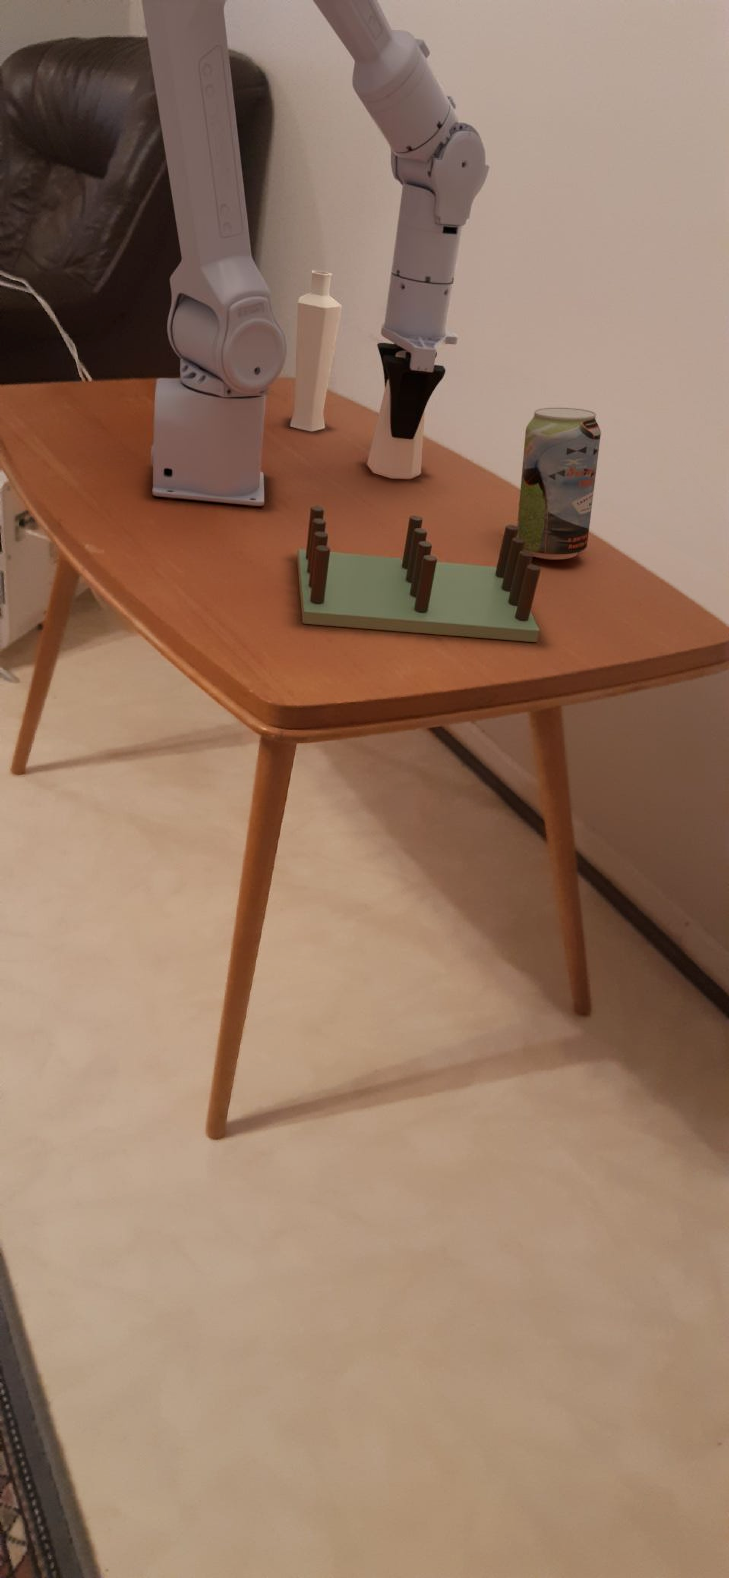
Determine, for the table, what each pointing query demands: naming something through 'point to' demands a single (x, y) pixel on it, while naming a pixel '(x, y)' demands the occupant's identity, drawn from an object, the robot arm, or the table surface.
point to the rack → (418, 588)
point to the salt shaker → (395, 445)
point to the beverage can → (558, 482)
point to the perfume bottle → (314, 351)
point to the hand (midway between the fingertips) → (399, 430)
